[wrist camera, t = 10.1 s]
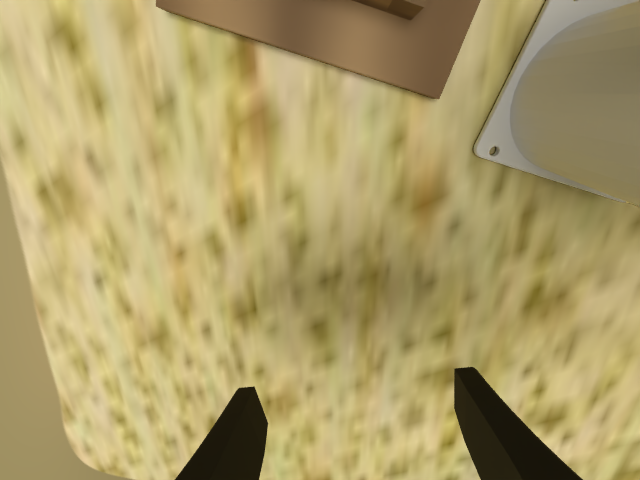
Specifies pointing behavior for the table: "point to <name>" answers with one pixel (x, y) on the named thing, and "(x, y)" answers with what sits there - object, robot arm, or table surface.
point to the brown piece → (351, 33)
